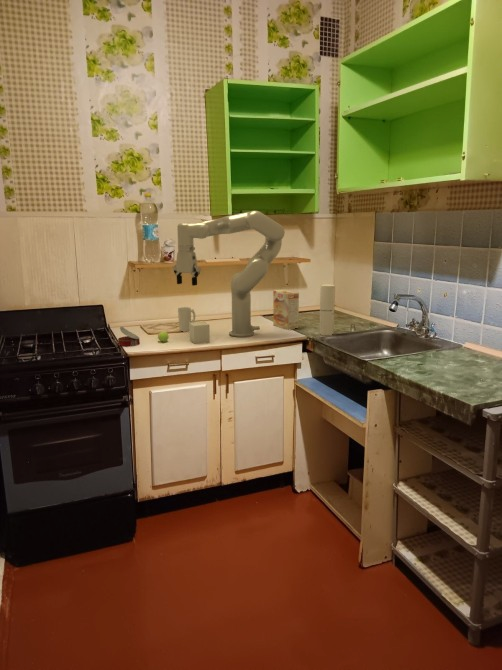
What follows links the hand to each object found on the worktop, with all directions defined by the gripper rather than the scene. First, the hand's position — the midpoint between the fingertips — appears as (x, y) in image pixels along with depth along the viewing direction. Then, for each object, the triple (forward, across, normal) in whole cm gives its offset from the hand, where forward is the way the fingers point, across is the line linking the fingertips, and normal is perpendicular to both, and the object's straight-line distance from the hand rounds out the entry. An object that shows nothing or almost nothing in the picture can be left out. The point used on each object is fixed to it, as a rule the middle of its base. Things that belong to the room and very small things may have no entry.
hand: (186, 284), depth 251 cm
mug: (+26, +11, -12) cm, 31 cm away
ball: (+24, +3, +15) cm, 28 cm away
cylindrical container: (+26, -56, -42) cm, 75 cm away
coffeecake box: (+26, -29, -47) cm, 61 cm away
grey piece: (+26, -12, +5) cm, 29 cm away
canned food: (+27, +13, +27) cm, 40 cm away
